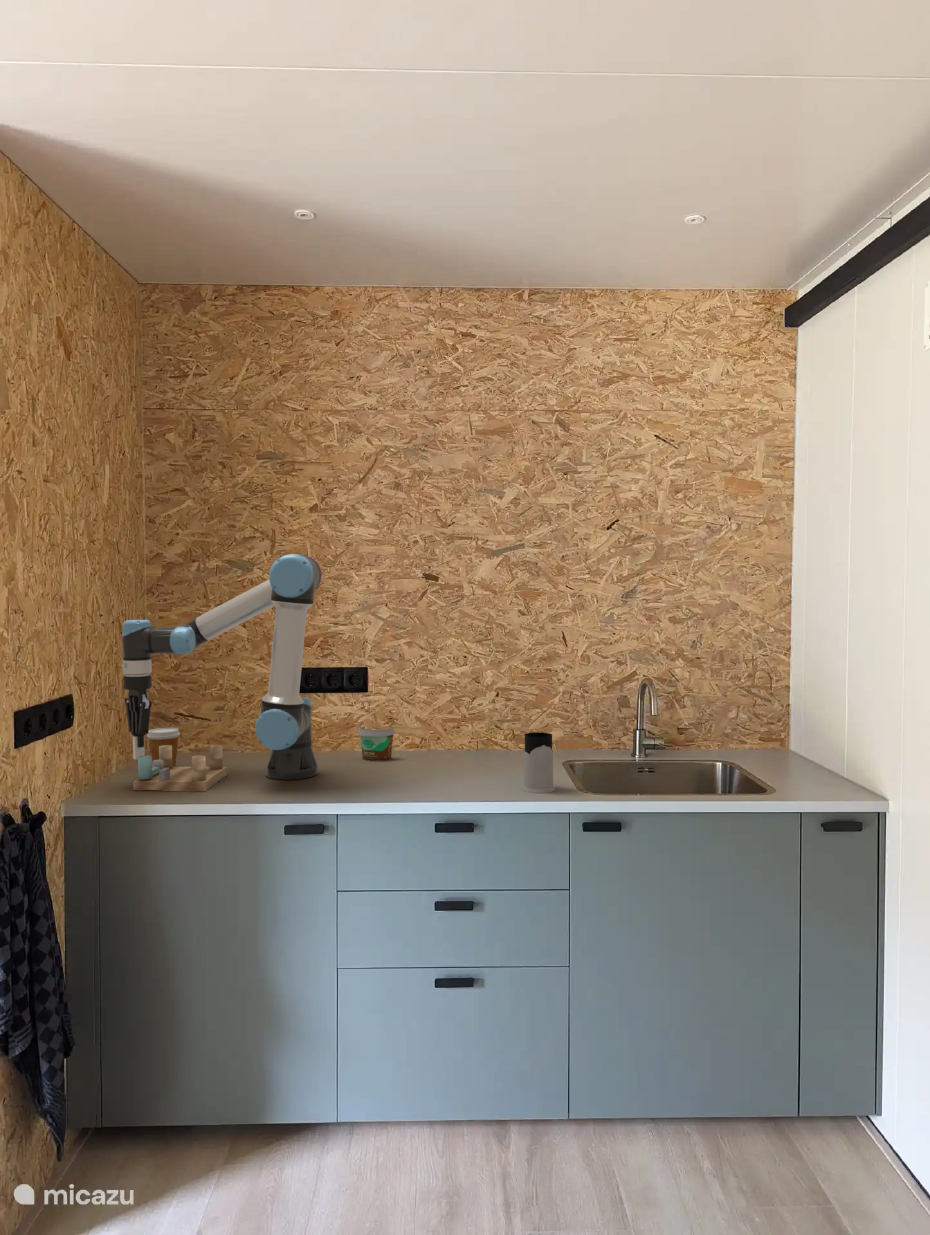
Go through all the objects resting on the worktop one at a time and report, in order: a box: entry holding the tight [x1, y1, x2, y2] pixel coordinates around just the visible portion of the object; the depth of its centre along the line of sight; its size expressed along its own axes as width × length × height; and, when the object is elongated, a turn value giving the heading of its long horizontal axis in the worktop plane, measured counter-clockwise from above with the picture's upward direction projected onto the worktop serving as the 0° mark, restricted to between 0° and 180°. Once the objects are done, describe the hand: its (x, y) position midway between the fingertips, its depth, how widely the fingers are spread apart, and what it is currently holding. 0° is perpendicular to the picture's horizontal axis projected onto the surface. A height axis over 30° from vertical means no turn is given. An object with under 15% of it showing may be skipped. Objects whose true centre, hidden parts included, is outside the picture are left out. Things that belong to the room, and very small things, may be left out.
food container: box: [357, 725, 396, 762], centre depth 290 cm, size 12×6×10 cm, turn 73°
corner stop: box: [159, 768, 170, 782], centre depth 251 cm, size 2×4×3 cm, turn 177°
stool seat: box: [132, 744, 229, 792], centre depth 259 cm, size 20×20×9 cm
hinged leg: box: [137, 754, 163, 780], centre depth 256 cm, size 12×4×6 cm, turn 176°
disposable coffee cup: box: [147, 727, 181, 767], centre depth 277 cm, size 10×10×12 cm
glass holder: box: [522, 731, 556, 794], centre depth 250 cm, size 9×14×15 cm, turn 16°
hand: (139, 758), depth 256 cm, fingers closed
